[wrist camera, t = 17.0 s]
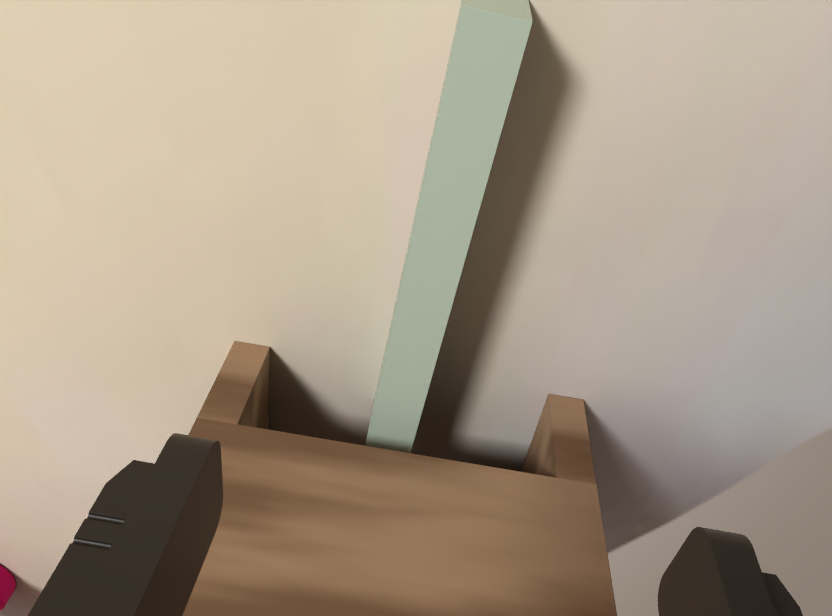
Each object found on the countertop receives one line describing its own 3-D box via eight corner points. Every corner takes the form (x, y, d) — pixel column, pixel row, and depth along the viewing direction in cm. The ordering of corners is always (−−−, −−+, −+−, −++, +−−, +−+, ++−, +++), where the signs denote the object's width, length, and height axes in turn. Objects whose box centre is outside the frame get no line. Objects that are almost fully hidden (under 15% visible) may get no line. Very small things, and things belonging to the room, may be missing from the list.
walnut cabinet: (234, 341, 38) (9, 799, 20) (583, 399, 38) (662, 905, 20) (238, 477, 45) (74, 904, 27) (532, 526, 45) (557, 981, 28)
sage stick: (465, -18, 26) (461, 5, 23) (527, -4, 26) (532, 21, 23) (375, 396, 40) (364, 447, 37) (416, 404, 40) (409, 456, 37)
